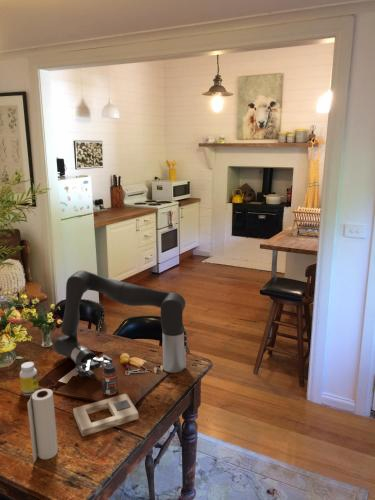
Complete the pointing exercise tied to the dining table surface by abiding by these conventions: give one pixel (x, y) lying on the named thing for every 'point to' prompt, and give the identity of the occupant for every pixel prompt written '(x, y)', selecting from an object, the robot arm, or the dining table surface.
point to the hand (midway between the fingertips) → (103, 372)
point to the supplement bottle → (109, 379)
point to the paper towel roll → (42, 424)
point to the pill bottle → (28, 378)
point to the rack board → (120, 413)
